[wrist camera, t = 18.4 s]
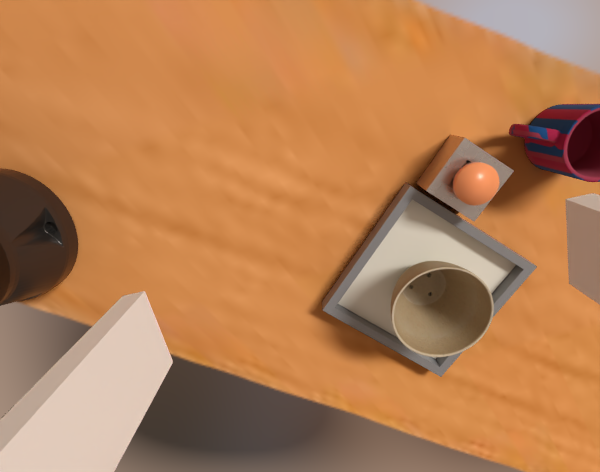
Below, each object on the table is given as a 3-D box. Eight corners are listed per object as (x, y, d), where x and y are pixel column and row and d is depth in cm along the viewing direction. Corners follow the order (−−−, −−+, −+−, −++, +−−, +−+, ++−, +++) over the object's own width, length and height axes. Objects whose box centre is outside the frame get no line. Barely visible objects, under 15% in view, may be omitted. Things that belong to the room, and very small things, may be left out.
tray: (321, 301, 48) (322, 310, 46) (405, 182, 43) (410, 186, 41) (435, 366, 50) (440, 376, 48) (527, 259, 45) (536, 266, 43)
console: (416, 183, 43) (426, 190, 39) (450, 134, 41) (464, 137, 38) (460, 211, 44) (474, 221, 40) (495, 164, 42) (514, 170, 38)
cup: (570, 178, 43) (617, 191, 36) (483, 151, 42) (515, 159, 35) (602, 115, 40) (658, 117, 34) (511, 86, 40) (550, 82, 33)
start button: (436, 184, 41) (446, 191, 37) (460, 150, 39) (474, 154, 36) (467, 204, 41) (480, 213, 38) (492, 171, 40) (508, 177, 37)
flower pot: (422, 336, 48) (440, 374, 41) (361, 287, 46) (370, 318, 40) (485, 280, 46) (515, 310, 39) (424, 225, 44) (445, 247, 37)
